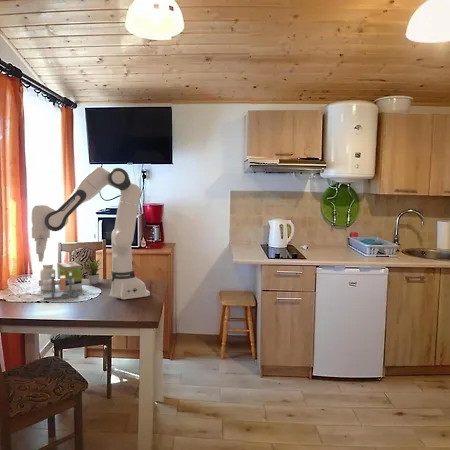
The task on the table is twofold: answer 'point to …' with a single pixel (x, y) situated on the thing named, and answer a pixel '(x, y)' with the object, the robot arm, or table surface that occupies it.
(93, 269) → the house plant
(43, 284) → the shaft
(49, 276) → the pill bottle
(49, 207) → the robot arm
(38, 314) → the table surface
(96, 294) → the table surface
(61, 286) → the spacer
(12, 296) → the table surface
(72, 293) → the grey post stand
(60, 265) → the tea box
